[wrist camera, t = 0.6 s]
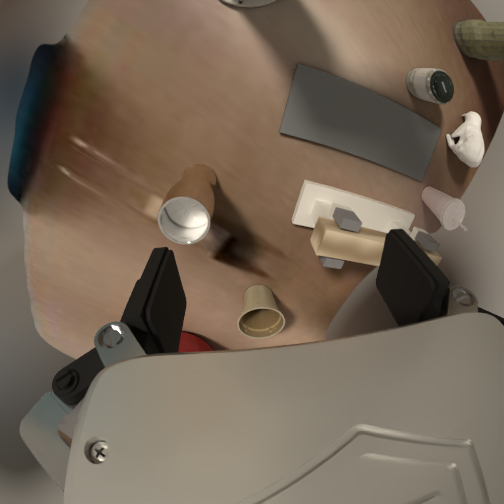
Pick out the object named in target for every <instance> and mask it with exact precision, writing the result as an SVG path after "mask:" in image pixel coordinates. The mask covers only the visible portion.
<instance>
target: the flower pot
mask: <svg viewBox="0 0 504 504" xmlns="http://www.w3.org/2000/svg"><path fill="white" fill-rule="evenodd" d="M284 325H285V317H284V315H283V314H282V313H281V312H280V310H279V309H278V307H277V304H276V302H275V299H274V296H273V294H272V291H271V290H270V288H268V287H265V286H263V285H254V286H251V287H249V288H248V289H247V291H246V292H245V293H244V299H243V307H242V313H241V315H240V317H239V319H238V322H237V326H238V329H239V331H240V332H241V333H242V334H243V335H245V336H247V337H250V338H255V339H262V338H268V337H271V336H274V335H276V334H277V333H279V332H280V331H281V330H282V329H283V327H284Z"/></svg>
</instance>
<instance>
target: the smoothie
mask: <svg viewBox="0 0 504 504" xmlns="http://www.w3.org/2000/svg"><path fill="white" fill-rule="evenodd" d="M421 198H422V200H423V202H424V203H425V204H426V205H427V206H428V207H429V208H430V210H431V211H432V212H433V213H434V214H435V215H436V217H437V218H438V219H439V220H440V222H441V225H442V226H443V227H444V228H445V229H447V230H453V229H455V228H456V227H458V226H460V227H462V228H463V229H464V230H465V231H467V230H468V229H467V228H466V227H465V226H464V225H462V224H461V222H462V221H463V218H464V216H465V205H464V203H463V202H462V201H461V200H460V199H458V198H453V197H451V196H449V195H447V194H445V193H443V192H441V191H439V190H437V189H435V188H433V187H430V186H428V187H426V188H424V190H423V191H422V194H421Z"/></svg>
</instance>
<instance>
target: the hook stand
mask: <svg viewBox="0 0 504 504" xmlns="http://www.w3.org/2000/svg"><path fill="white" fill-rule="evenodd" d="M319 216H320V217H324V218H329V219H333V220H335V221H336V223H337V224H338V226H339V227H340V228H343V229H347V230H351V231H355V232H359V229H360V227H361V226H362V227H366V228H369V229H373V230H377V231H381V232H385V233H389V231H390V230H391V229H403V230H404V231H405V232H406V233H407V234H408V235H409V236H410V237H411V238H412V239H413V240H414V241H417V242H419V243H420V244H421V246H422V247H423V248H424V249H426V250H429V251H433V252H436V250H437V249H438V246H439V244H438V243H437V242H436V241H435V240H434V239H433V238H432V237H431V236H430V235H429V234H428V233H427V232H426V231H425V230H423V229H420V228H417V227H414V228H413V230H412V232H410V231H409V230H408V229H409V227H410V225H411V223H412V221H413V219H414V217H415V215H414V214H413V213H412V212H410V211H407V210H404V209H401V208H398V207H396V206H393V205H390V204H387V203H384V202H381V201H377V200H374V199H371V198H368V197H365V196H362V195H358V194H355V193H352V192H348V191H345V190H341V189H338V188H334V187H331V186H327V185H323V184H320V183H316V182H312V181H308V180H304V183H303V186H302V189H301V192H300V195H299V198H298V202H297V205H296V208H295V211H294V214H293V217H292V223H293V224H297V225H302V226H307V227H312V228H315V225H316V222H317V220H318V217H319ZM319 258H320V260H321V263H322V265H323V266H324V267H330V268H337V269H341V268H342V266H343V264H344V260H342V259H337V258H331V257H326V256H320V255H319Z"/></svg>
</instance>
